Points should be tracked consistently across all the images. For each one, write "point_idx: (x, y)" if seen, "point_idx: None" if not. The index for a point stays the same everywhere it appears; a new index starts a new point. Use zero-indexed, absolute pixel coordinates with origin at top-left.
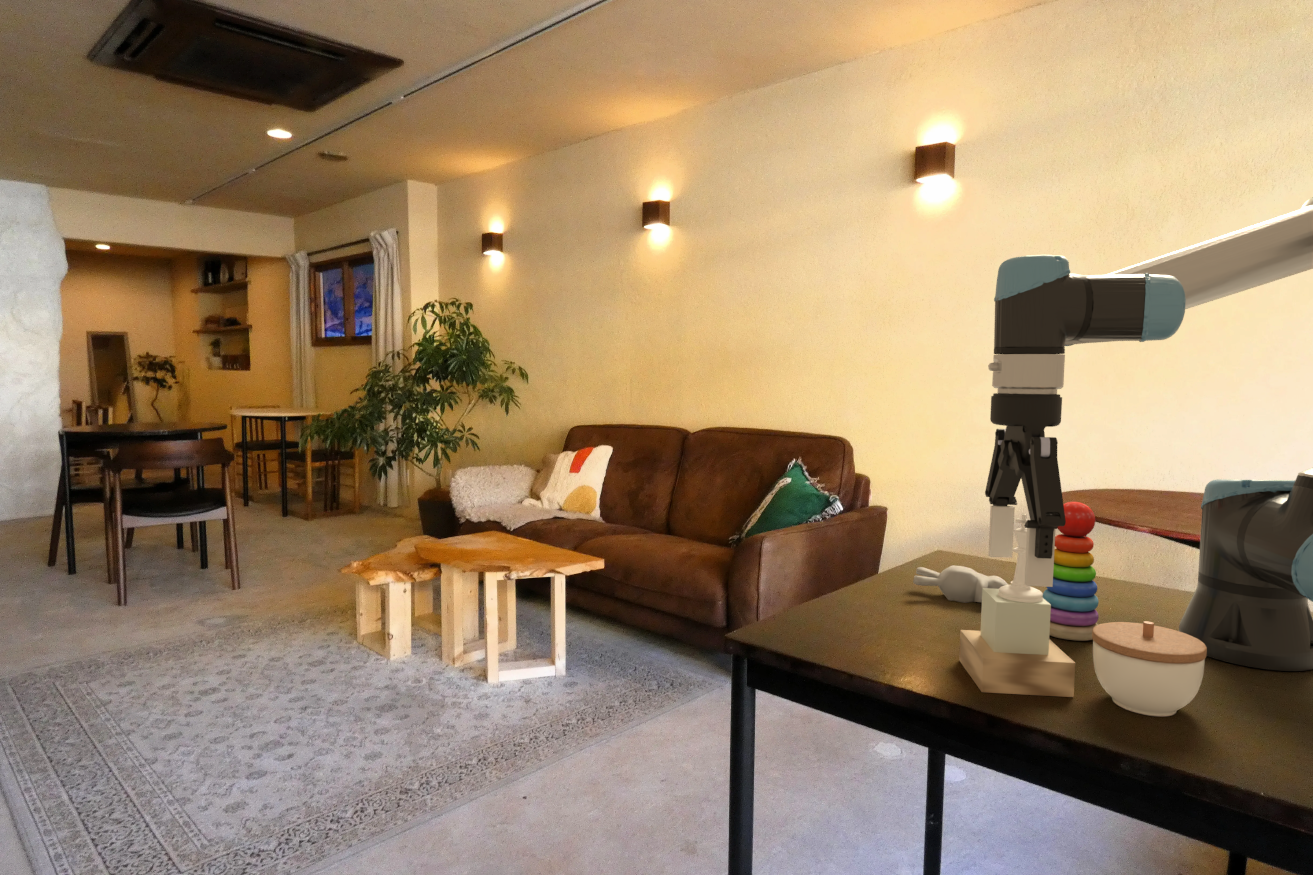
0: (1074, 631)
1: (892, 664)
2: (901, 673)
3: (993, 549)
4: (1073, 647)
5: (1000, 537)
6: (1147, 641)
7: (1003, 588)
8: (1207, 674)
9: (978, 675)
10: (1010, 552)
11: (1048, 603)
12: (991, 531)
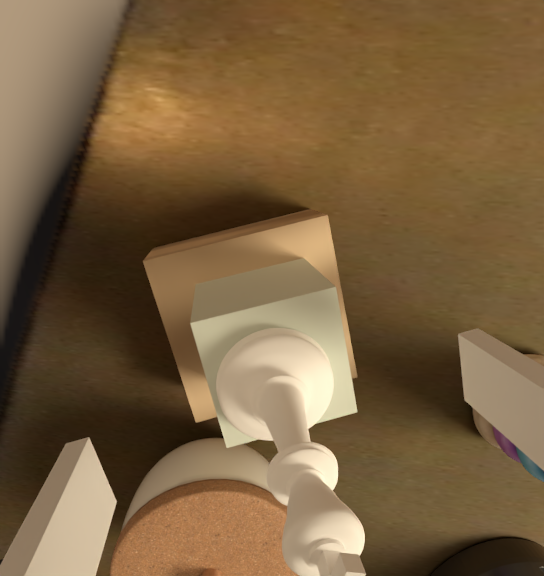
0: (480, 414)
1: (236, 66)
2: (189, 88)
3: (474, 355)
4: (441, 401)
5: (510, 401)
6: (167, 573)
7: (267, 349)
8: (371, 554)
9: (176, 245)
10: (474, 403)
11: (234, 443)
12: (528, 380)
